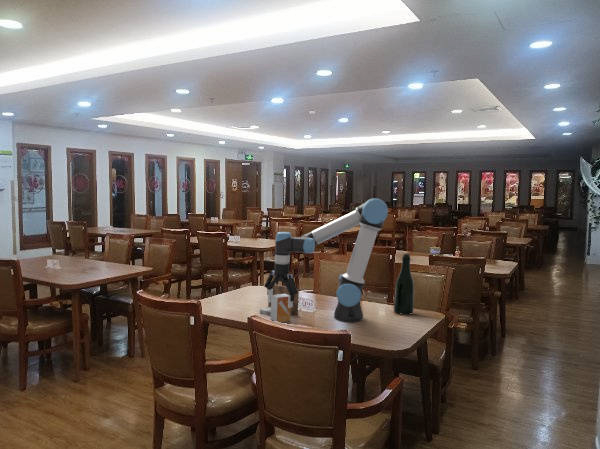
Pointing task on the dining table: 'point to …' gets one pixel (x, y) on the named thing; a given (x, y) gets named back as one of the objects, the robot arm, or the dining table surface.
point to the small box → (280, 308)
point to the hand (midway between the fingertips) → (280, 304)
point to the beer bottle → (404, 288)
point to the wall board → (282, 290)
